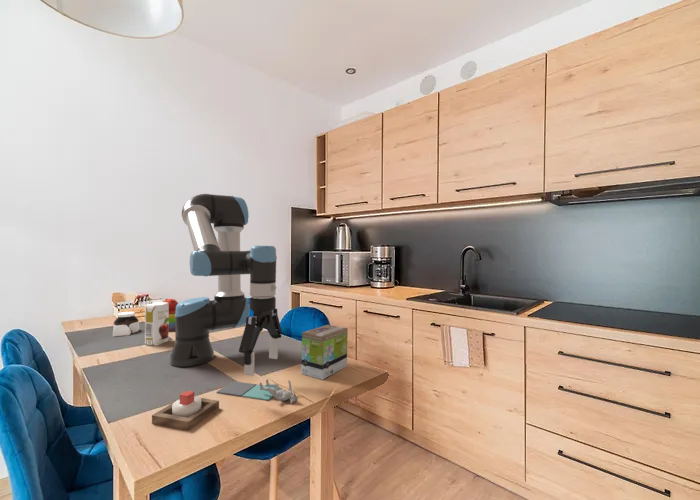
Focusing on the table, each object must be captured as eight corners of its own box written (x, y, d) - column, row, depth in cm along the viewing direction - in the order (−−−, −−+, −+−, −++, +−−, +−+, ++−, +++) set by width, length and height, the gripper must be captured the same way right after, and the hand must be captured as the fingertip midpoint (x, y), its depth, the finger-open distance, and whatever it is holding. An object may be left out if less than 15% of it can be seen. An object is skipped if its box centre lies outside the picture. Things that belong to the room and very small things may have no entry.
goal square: (242, 396, 93) (242, 395, 93) (257, 385, 101) (257, 384, 101) (268, 400, 91) (268, 399, 91) (281, 388, 99) (281, 387, 99)
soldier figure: (274, 375, 99) (303, 380, 93) (275, 390, 99) (304, 397, 93) (254, 385, 93) (284, 391, 86) (256, 401, 93) (285, 409, 86)
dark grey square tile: (216, 393, 96) (216, 391, 96) (233, 382, 103) (233, 381, 103) (241, 396, 93) (241, 395, 93) (256, 385, 101) (256, 384, 101)
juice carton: (141, 348, 138) (141, 304, 138) (156, 342, 146) (156, 301, 146) (157, 349, 137) (157, 305, 137) (171, 343, 145) (171, 302, 145)
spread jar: (134, 333, 163) (134, 310, 163) (144, 336, 156) (144, 313, 156) (106, 338, 153) (106, 314, 153) (115, 342, 147) (115, 317, 147)
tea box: (323, 381, 105) (323, 336, 105) (300, 374, 110) (300, 332, 110) (348, 366, 118) (348, 326, 117) (326, 361, 123) (326, 323, 123)
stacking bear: (186, 332, 164) (186, 298, 164) (166, 337, 156) (166, 301, 156) (174, 329, 170) (174, 296, 170) (154, 334, 161) (154, 299, 161)
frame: (151, 423, 79) (151, 415, 79) (185, 402, 89) (185, 395, 89) (188, 430, 76) (188, 421, 76) (219, 408, 86) (219, 400, 86)
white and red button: (165, 419, 80) (165, 397, 80) (186, 406, 87) (186, 386, 87) (187, 423, 78) (187, 400, 78) (207, 410, 85) (207, 389, 85)
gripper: (250, 304, 83) (249, 385, 83) (292, 291, 107) (291, 353, 107) (225, 302, 85) (224, 381, 85) (272, 290, 109) (271, 351, 109)
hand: (262, 366), depth 96 cm, fingers open, 13 cm apart
